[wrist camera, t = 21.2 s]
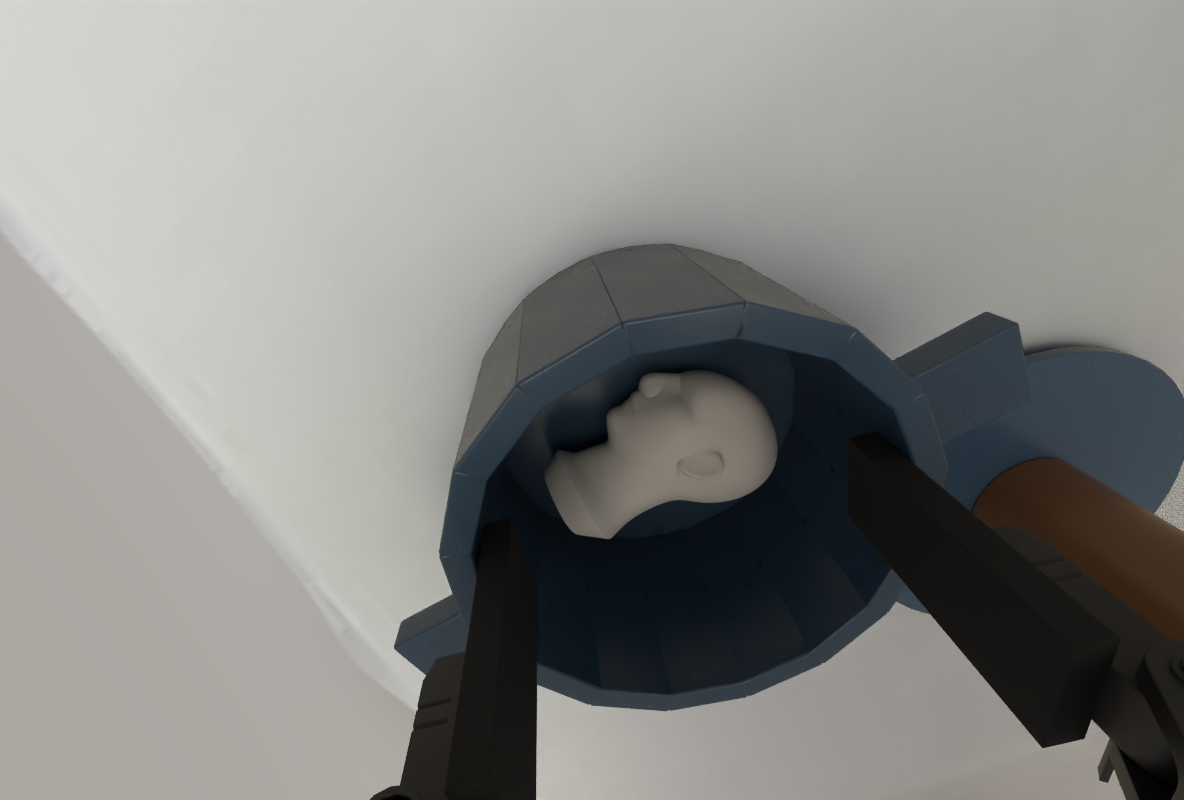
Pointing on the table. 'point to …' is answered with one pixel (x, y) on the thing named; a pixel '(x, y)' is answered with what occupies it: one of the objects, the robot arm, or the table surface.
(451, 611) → the tin
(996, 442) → the tin lid
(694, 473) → the mannequin head
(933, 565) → the robot arm
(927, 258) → the table surface
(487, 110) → the table surface
